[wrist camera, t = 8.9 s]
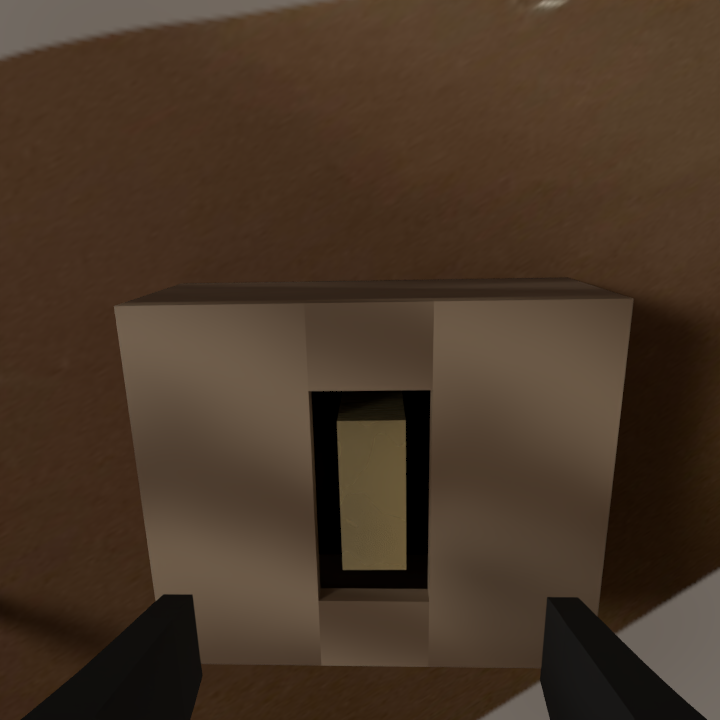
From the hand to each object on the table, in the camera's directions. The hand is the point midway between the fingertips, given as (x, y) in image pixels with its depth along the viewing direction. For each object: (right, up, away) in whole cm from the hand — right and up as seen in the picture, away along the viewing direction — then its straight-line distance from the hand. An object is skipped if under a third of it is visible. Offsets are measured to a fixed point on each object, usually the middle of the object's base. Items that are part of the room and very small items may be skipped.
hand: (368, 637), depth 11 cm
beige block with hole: (0, +3, +10) cm, 10 cm away
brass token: (0, +3, +10) cm, 10 cm away
